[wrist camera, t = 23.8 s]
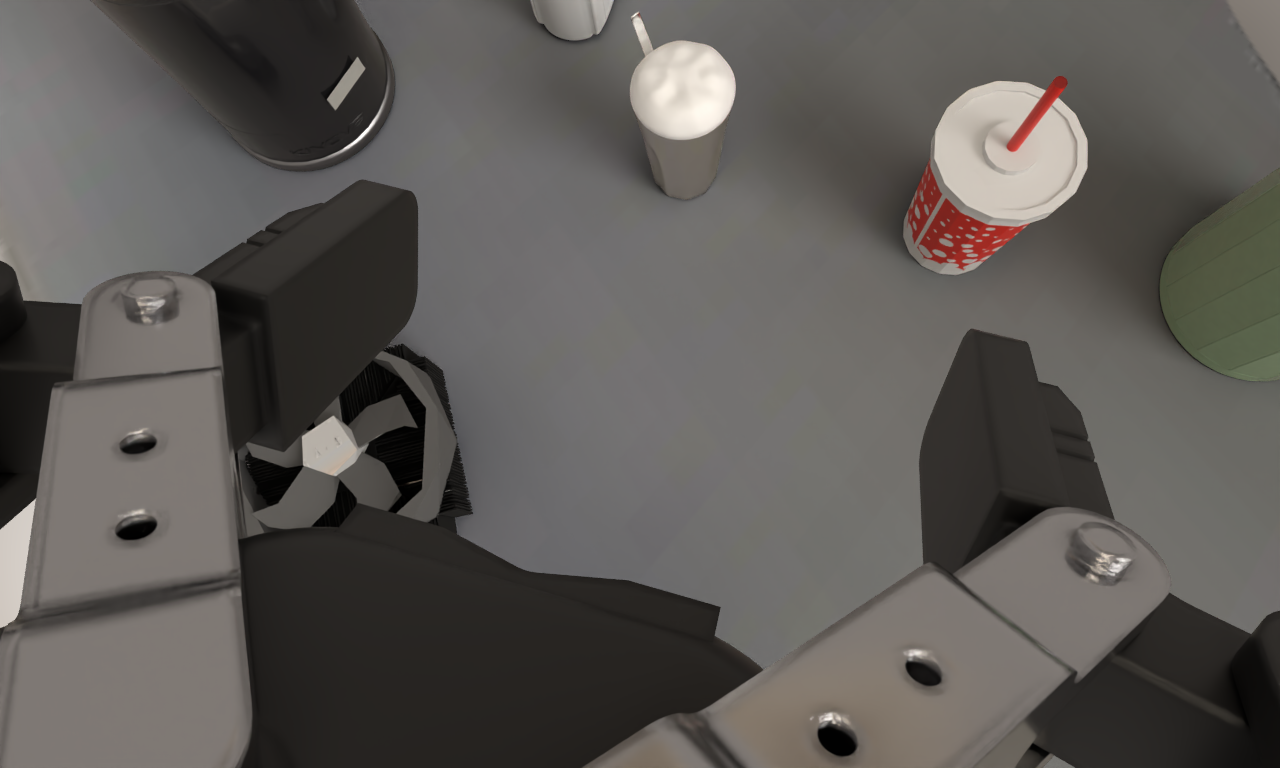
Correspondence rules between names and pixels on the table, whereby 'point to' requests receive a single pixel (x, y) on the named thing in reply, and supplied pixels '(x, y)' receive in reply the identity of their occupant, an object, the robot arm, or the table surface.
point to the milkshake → (682, 111)
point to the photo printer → (572, 17)
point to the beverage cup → (993, 173)
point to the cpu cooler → (364, 454)
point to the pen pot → (1230, 286)
